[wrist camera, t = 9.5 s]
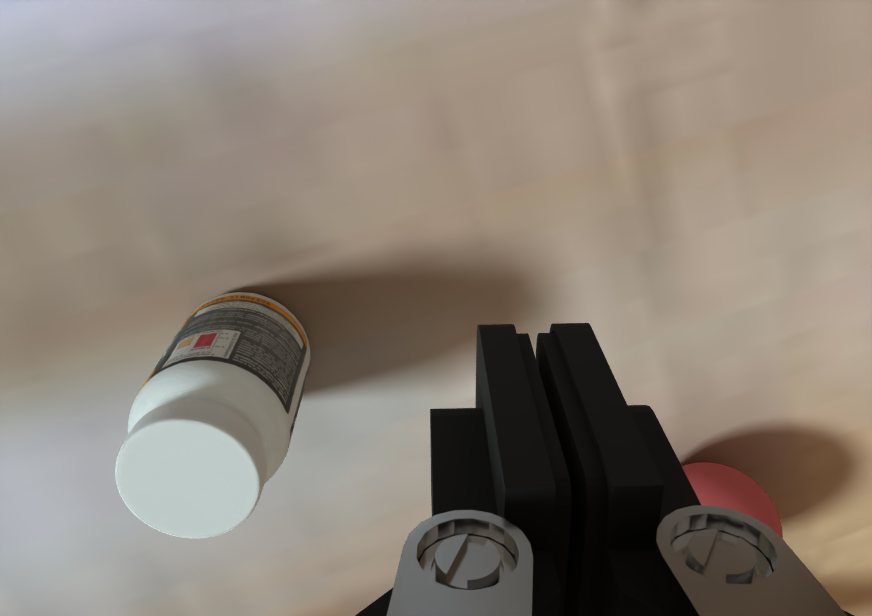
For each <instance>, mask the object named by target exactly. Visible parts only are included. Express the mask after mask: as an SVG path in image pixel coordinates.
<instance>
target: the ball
mask: <svg viewBox="0 0 872 616" xmlns="http://www.w3.org/2000/svg"><path fill="white" fill-rule="evenodd" d="M682 468H683V470H684V472H685V474H686V476H687V478H688V480H689V482H690V484H691V486H692V487H693V489H694V491H695V493H696V495H697V497H698V499H699V501H700V503H701V505H713V506H718V507H724V508H730V509H733V510H736V511H739V512H742V513H744V514H747V515H750V516H752V517H754V518H755V519H757V520H759V521H761V522H762V523H764V524H766V525H767V526H769V527H770V528H771V529H772V530H773V531H774V532H776V533H777V534H778V535H779V536H780V537H781V538H782V539H783V536H782V527H781V522H780V518H779V515H778V513H777V510H776V508H775V506H774V504H773V502H772V500H771V499H770V498H769V496H768V495H767V493H766V492H765V491H764V490H763V489H762V488H761V487H760V485H759V484H757V483H756V482H755V481H754V480H753V479H751V478H750V477H749V476H747V475H746V474H744V473H742V472H740V471H738V470H736V469H734V468H732V467H729V466H726V465H722V464H717V463H710V462H699V463H692V464H687V465H684V466H682Z"/></svg>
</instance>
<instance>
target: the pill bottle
mask: <svg viewBox="0 0 872 616" xmlns="http://www.w3.org/2000/svg"><path fill="white" fill-rule="evenodd" d="M309 366H310V345H309V341H308V338H307V335H306V333H305V331H304V329H303V327H302V325H301V324H300V322H299V321H298V320H297V318H296V317H295V316H294V315H293V314H292V313H291V312H290V311H289V310H288V309H287V308H286V307H284V306H283V305H281V304H280V303H278V302H276V301H274V300H272V299H270V298H268V297H265V296H262V295H259V294H255V293H242V292H235V293H227V294H223V295H220V296H217V297H214V298H212V299H210V300H208V301H206V302H205V303H203V304H202V305H200V306H199V307H198V308H196V309H195V310H194V311H193V313H192V314H191V315H190V316H189V317H188V318H187V320H186V321H185V323H184V324H183V326H182V327H181V329H180V330H179V332H178V333H177V335H176V336H175V338H174V339H173V341H172V342H171V343H170V345H169V347H168V348H167V350H166V351H165V353H164V355H163V356H162V358H161V359H160V361H159V362H158V364H157V366H156V367H155V369H154V370H153V372H152V373H151V375H150V376H149V378H148V379H147V381H146V382H145V384H144V385H143V387H142V388H141V390H140V392H139V393H138V395H137V397H136V399H135V401H134V403H133V405H132V408H131V411H130V416H129V422H128V436H127V438H126V440H125V441H124V443H123V445H122V447H121V449H120V451H119V454H118V457H117V460H116V466H115V477H116V483H117V487H118V491H119V493H120V495H121V497H122V499H123V501H124V502H125V504H126V505H127V507H128V508H129V509H130V510H131V512H132V513H133V514H134V515H135V516H137V517H138V518H139V519H140V520H142V521H143V522H144V523H146V524H147V525H149V526H150V527H152V528H154V529H156V530H158V531H160V532H163V533H165V534H169V535H172V536H176V537H182V538H194V539H201V538H209V537H213V536H217V535H221V534H224V533H226V532H228V531H230V530H232V529H234V528H235V527H237V526H238V525H240V524H241V523H242V522H243V521H245V520H246V519H247V518H248V516H249V515H250V514H251V513H252V511H253V510H254V508H255V506H256V504H257V502H258V500H259V498H260V495H261V492H262V489H263V486H264V483H266V482H267V481H268V480H269V479H270V478H271V477H272V476H273V475H274V474H275V472H276V471H277V470H278V468H279V467H280V465H281V464H282V462H283V460H284V458H285V456H286V454H287V451H288V448H289V443H290V440H291V436H292V432H293V428H294V424H295V421H296V417H297V413H298V410H299V406H300V402H301V399H302V395H303V392H304V388H305V384H306V381H307V377H308V372H309Z"/></svg>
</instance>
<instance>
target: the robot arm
mask: <svg viewBox="0 0 872 616" xmlns="http://www.w3.org/2000/svg"><path fill="white" fill-rule="evenodd" d="M430 429H431V496H432V517H431V518H429V519H427V520H425V521H423V522H421V523H420V524H419V525H418V526H417V527H416V528H415V529H414V530H413V531H412V532H411V533H410V534H409V536H408V538H407V540H406V542H405V544H404V546H403V550H402V554H401V558H400V562H399V567H398V571H397V575H396V579H395V583H394V587H393V588H392V589H391V590H389V591H388V592H387V593H385V594H384V595H383V596H381V597H380V598H378V599H377V600H376V601H374V602H373V603H372V604H370V605H369V606H368V607H366V608H365V609H364V610H362V611H361V612H360V613H358V614H357V615H356V616H854V615H852V614H850V613H848V612H846V611H844V610H842V609H841V608H840V606H839V605H838V604H837V603H836V602H835V601H834V599H833V598H832V597H831V596H830V595H829V593H828V592H827V591H826V590H825V589H824V588H823V586H822V585H821V584H820V583H819V582H818V580H817V579H816V578H815V577H814V576H813V574H812V573H811V572H810V571H809V570H808V569H807V567H806V566H805V565H804V564H803V563H802V561H801V560H800V559H799V558H798V557H797V556H796V554H795V553H794V552H793V551H792V550H791V548H790V547H789V546H788V545H787V544H786V542H785V541H784V540H783V539H782V538H781V537H780V536H779V535H778V534H777V533H776V532H774V531H773V530H772V529H771V528H770V527H769V526H767V525H766V524H764V523H762V522H761V521H759V520H757V519H755V518H754V517H752V516H750V515H747V514H744V513H742V512H739V511H736V510H733V509H730V508H724V507H718V506H713V505H701V503H700V501H699V499H698V497H697V495H696V493H695V491H694V489H693V487H692V486H691V484H690V482H689V480H688V478H687V476H686V474H685V472H684V470H683V468H682V466H681V464H680V462H679V460H678V458H677V456H676V454H675V452H674V450H673V449H672V447H671V445H670V443H669V441H668V439H667V437H666V435H665V433H664V431H663V429H662V427H661V425H660V423H659V421H658V419H657V417H656V415H655V413H654V412H653V410H652V409H651V407H650V406H647V405H627V404H626V401H625V399H624V397H623V395H622V393H621V391H620V388H619V386H618V384H617V382H616V380H615V378H614V375H613V373H612V371H611V369H610V367H609V365H608V362H607V360H606V358H605V356H604V354H603V352H602V349H601V347H600V345H599V343H598V341H597V339H596V337H595V334H594V332H593V330H592V328H591V326H590V324H589V323H566V324H552V325H551V328H550V333H538V336H537V346H536V358H535V355H534V352H533V348H532V345H531V341H530V338H529V335H528V333H526V334H516V330H515V326H514V324H503V325H478V327H477V353H476V408H457V409H430Z"/></svg>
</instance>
